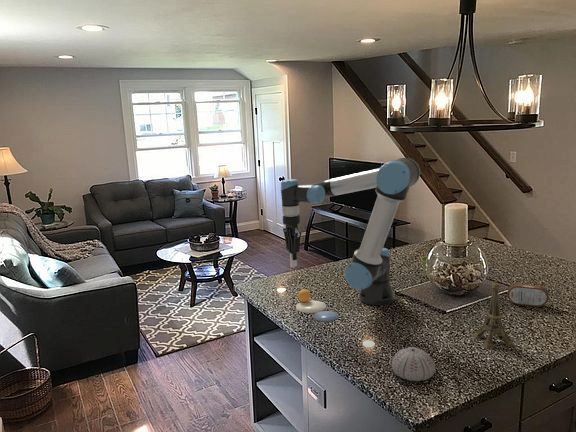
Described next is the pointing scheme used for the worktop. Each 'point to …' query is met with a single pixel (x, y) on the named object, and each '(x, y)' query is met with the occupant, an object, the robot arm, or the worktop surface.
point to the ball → (304, 295)
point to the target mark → (311, 306)
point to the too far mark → (326, 316)
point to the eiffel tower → (493, 322)
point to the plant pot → (424, 263)
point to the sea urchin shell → (413, 364)
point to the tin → (528, 295)
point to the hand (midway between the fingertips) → (293, 266)
